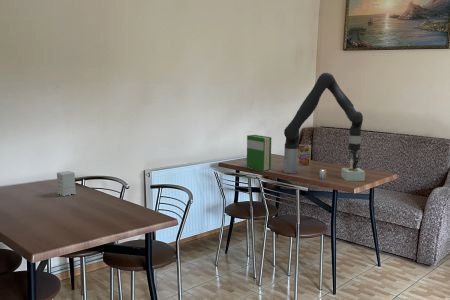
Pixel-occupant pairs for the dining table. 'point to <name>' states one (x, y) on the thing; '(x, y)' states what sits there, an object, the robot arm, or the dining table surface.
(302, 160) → the candy box
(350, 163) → the tall pin
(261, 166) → the hardback book
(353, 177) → the hole block
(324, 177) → the short pin
